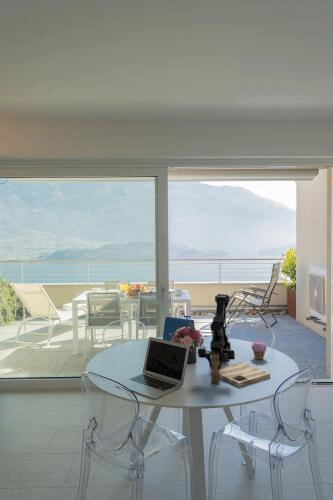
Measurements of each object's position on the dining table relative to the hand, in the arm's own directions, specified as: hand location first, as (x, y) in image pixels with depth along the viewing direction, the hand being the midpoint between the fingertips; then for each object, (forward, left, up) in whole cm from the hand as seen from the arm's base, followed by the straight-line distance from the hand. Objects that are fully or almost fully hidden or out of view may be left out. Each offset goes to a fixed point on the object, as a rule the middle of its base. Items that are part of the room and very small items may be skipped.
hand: (214, 369), depth 205 cm
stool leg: (-1, +1, -8) cm, 8 cm away
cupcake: (-14, +46, -8) cm, 49 cm away
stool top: (-1, +18, -8) cm, 20 cm away
